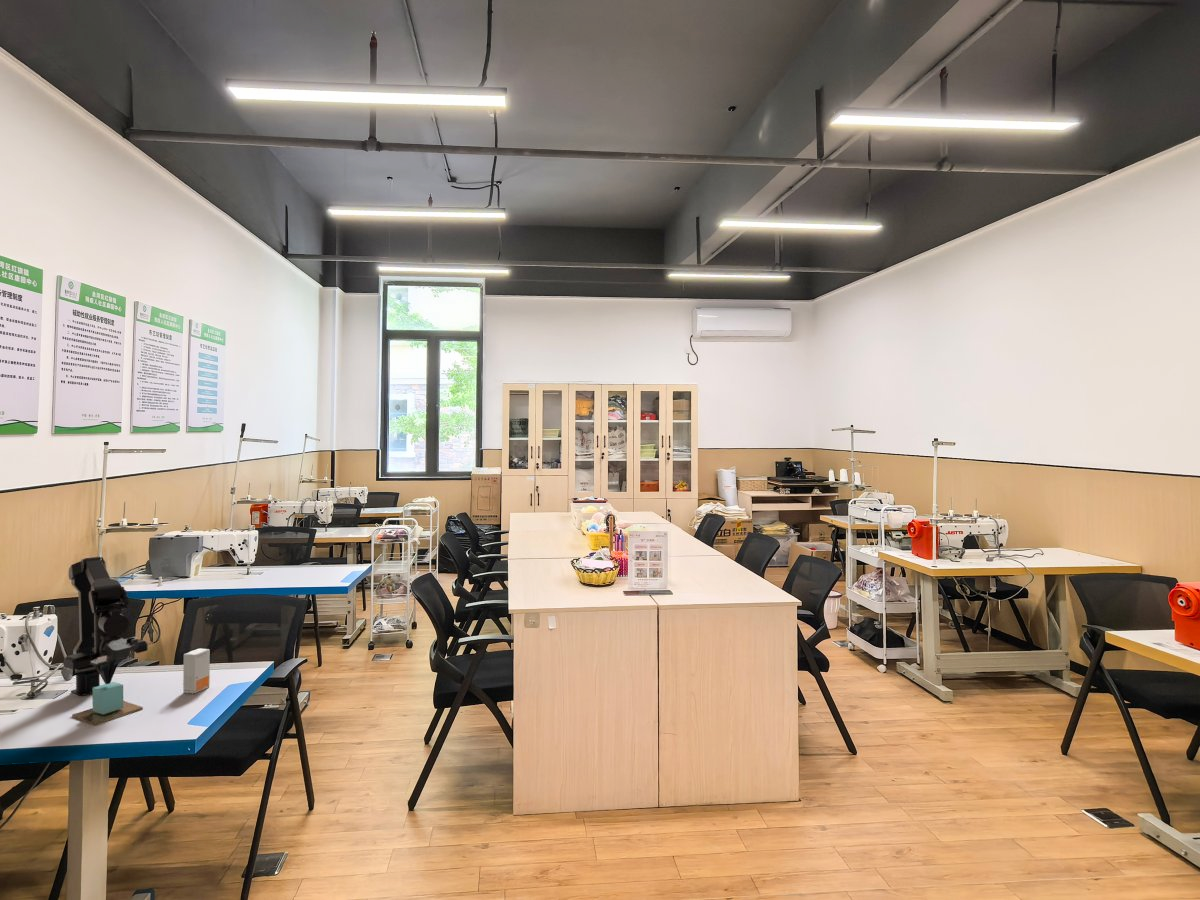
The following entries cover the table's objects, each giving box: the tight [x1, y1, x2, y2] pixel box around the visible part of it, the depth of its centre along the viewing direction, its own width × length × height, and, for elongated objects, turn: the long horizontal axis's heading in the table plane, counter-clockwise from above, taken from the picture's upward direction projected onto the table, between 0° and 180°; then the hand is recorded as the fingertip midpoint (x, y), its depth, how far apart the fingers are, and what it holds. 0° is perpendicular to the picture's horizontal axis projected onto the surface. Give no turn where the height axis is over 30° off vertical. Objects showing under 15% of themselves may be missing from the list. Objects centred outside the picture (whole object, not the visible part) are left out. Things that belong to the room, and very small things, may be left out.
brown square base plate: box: [71, 700, 144, 726], centre depth 184 cm, size 12×12×7 cm
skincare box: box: [182, 647, 211, 694], centre depth 201 cm, size 6×4×12 cm
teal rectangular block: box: [92, 681, 124, 714], centre depth 184 cm, size 5×5×7 cm
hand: (107, 683), depth 184 cm, fingers closed
